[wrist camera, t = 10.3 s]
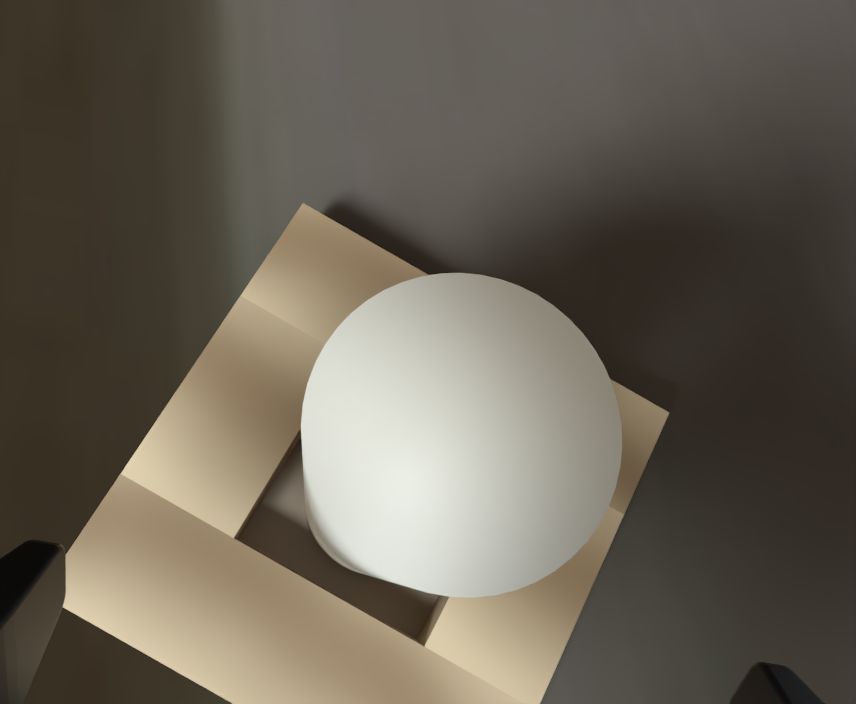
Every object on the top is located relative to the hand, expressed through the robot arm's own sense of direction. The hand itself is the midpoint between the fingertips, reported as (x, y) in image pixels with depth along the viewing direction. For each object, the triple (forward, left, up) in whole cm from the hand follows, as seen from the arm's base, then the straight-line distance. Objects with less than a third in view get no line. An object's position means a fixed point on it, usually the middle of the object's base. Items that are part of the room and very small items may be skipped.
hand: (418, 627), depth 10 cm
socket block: (+2, +1, -12) cm, 12 cm away
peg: (+2, +1, -11) cm, 12 cm away
